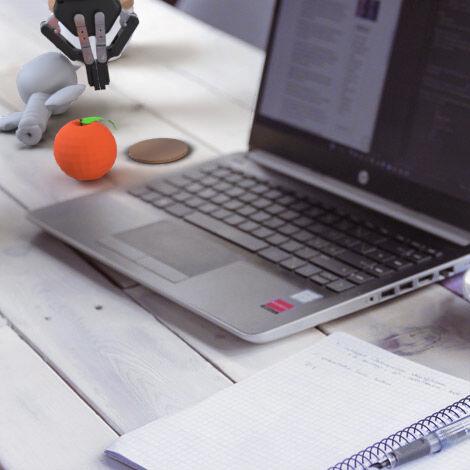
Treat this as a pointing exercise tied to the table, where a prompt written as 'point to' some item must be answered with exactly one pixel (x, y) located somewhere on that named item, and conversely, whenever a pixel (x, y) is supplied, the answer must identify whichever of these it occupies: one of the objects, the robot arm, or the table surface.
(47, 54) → the toy creature
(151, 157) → the cork coaster
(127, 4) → the lidded bowl
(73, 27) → the robot arm
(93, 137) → the clementine
